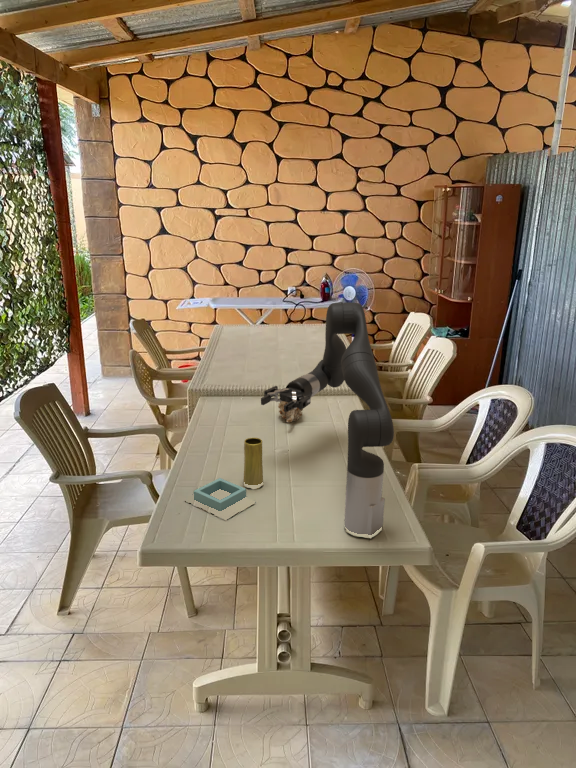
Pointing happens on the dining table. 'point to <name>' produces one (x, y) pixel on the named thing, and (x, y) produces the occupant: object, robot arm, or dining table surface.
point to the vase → (253, 461)
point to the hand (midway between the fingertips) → (273, 405)
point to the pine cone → (289, 412)
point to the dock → (205, 491)
